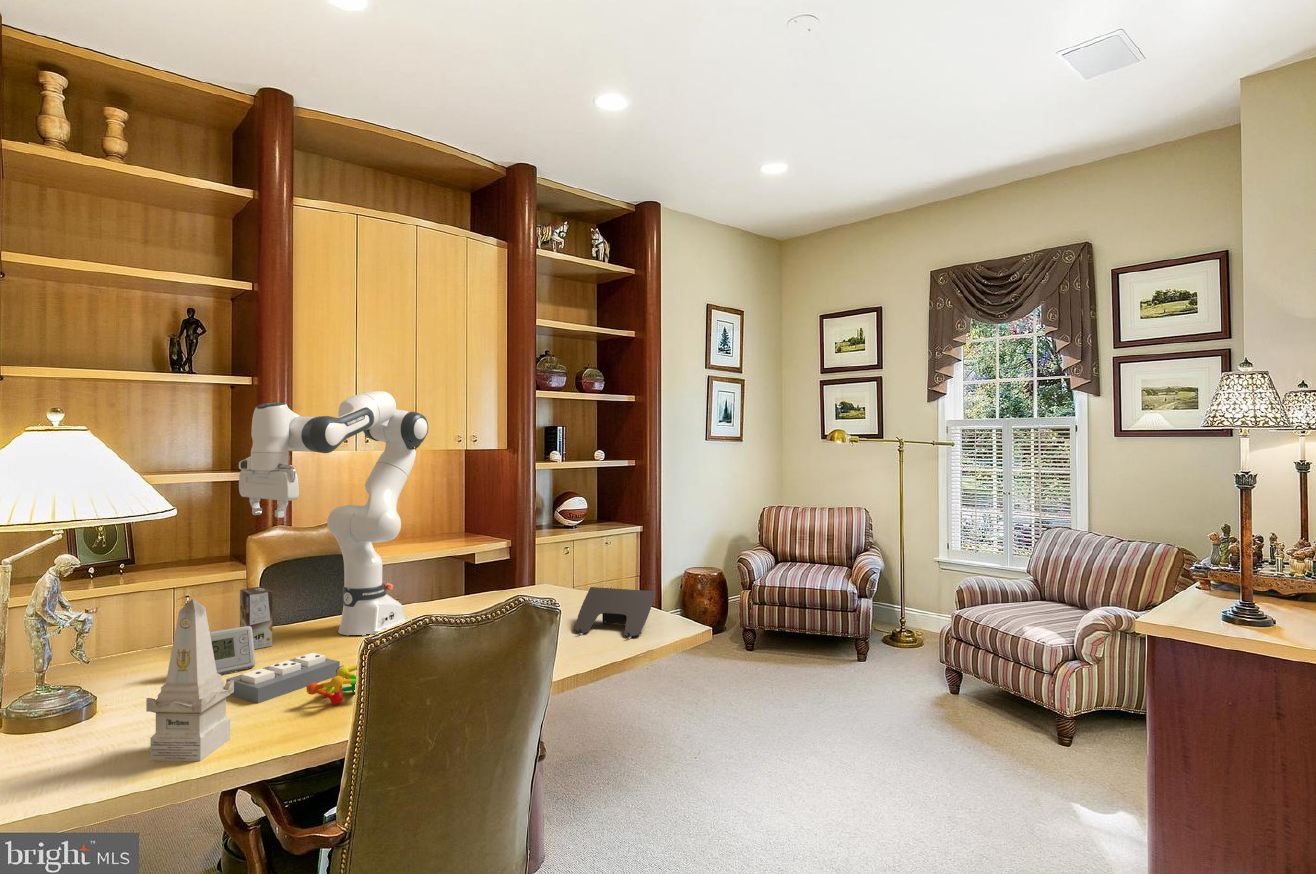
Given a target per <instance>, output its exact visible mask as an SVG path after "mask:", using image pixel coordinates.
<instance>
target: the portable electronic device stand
mask: <svg viewBox="0 0 1316 874" xmlns="http://www.w3.org/2000/svg"><path fill="white" fill-rule="evenodd" d="M656 592H657V591H655V590H642V589H641V590H640V589H626V588H625V589H624V588H612V587H611V588H610V587H599V586H598V587H596V586H595V587H594V586H590V587H589V589H588V592H587V593H586V596H585V598H584V600H583V602H582V604H581V607H580V609H579V611H578V615H577V618H576V622H575V624H574V630H575V631H576V632H577V633H579V635H580V636H583V635H584V634H586V633H588V632H589V631H590V629H591V628H592V626H593V625H594V623H595V622H596V620H597V618H598V617H599V616H600V615H602V617H601V619H602V624H604V625H611V624H612V625H613V624H614V625H615V624H621V625H624V624H625V625H624V636H625V637H627V639H628V640H631V639H632V638H633V637H636V636H638V637H639V635H641V634H642V630H643V629H644V626H645V625H646V623H647V619H648V618H649V616H650V612H651V609H652V606H653V603H654V599H655V597H656V596H655V595H656ZM630 638H631V639H630Z"/></svg>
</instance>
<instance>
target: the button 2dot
mask: <svg viewBox="0 0 1316 874" xmlns="http://www.w3.org/2000/svg"><path fill="white" fill-rule="evenodd" d="M325 658H326V655H325V654H320V653H317V652H316V653H315V652H310V653H307V654H303V655H301V656H297V657H295V662H297V663H301V666H305V667H310V666H313V665H316V664H319V663H322V662H325Z"/></svg>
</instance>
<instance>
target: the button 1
mask: <svg viewBox="0 0 1316 874" xmlns="http://www.w3.org/2000/svg"><path fill="white" fill-rule="evenodd" d="M262 668H263V667H260V668H258V669H255V670H251V671H248V672H245V673H241V675H242V681H244V682H247V683H251V684H257V683H260V682H263V681H266V680H269V679H273V678H275V672H274V671H270V670H266V669H262Z"/></svg>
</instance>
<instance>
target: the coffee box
mask: <svg viewBox="0 0 1316 874" xmlns="http://www.w3.org/2000/svg"><path fill="white" fill-rule="evenodd" d="M245 626H250V627H252V632H253V642H254V650H257V649H263V648H268V647H272V646H273V590H271V589H268V588H266V587H264V586H256V587H248V588H243V589H239V627H245Z"/></svg>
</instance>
